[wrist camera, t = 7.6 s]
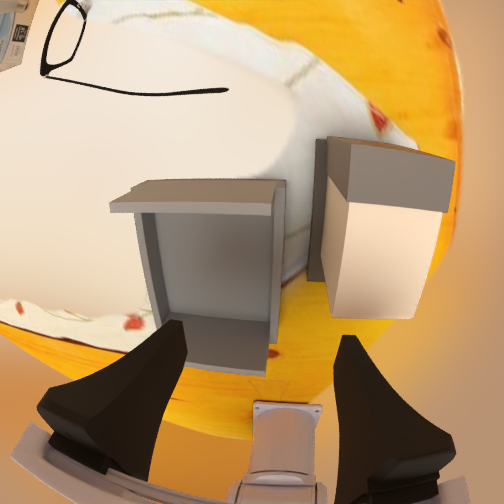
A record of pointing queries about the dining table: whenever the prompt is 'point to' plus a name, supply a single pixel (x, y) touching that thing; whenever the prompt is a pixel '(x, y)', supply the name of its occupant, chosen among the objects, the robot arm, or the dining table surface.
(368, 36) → the dining table surface
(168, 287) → the grey open tray
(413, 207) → the box
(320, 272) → the rubber mat
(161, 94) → the eyeglasses
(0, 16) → the light bulb box
